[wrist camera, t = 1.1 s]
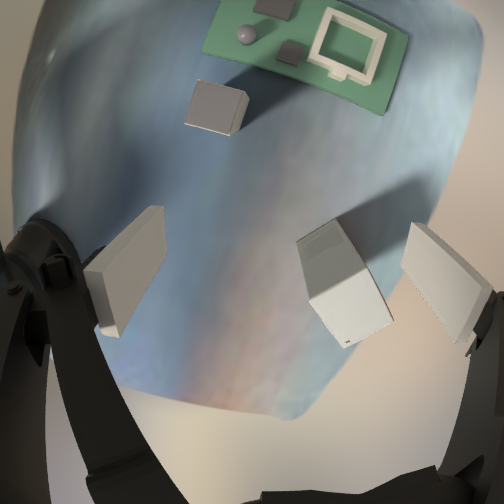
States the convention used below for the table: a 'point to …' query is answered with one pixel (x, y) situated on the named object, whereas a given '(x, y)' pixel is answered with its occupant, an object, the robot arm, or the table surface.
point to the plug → (217, 108)
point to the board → (312, 45)
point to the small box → (341, 285)
